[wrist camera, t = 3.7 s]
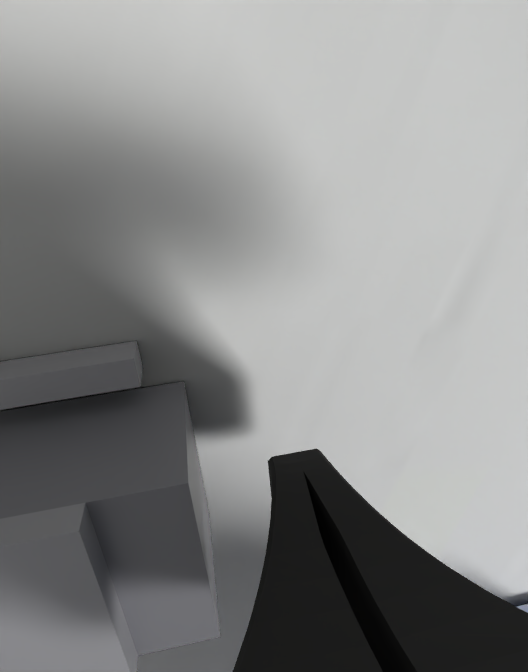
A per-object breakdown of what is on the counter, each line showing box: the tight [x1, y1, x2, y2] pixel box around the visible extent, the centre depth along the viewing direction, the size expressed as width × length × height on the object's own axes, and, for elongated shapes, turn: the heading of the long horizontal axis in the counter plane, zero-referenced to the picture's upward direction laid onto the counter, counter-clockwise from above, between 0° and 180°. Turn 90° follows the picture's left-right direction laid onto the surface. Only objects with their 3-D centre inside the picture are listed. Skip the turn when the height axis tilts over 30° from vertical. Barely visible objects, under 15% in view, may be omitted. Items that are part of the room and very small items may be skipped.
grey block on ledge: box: [0, 381, 220, 672], centre depth 12 cm, size 5×5×5 cm
